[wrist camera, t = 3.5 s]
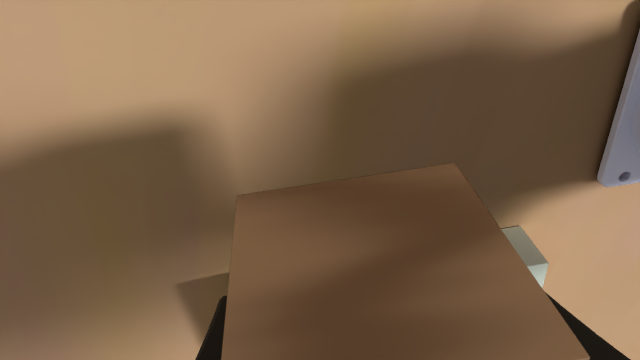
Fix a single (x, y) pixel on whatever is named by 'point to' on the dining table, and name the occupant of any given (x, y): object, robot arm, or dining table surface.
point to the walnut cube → (384, 276)
